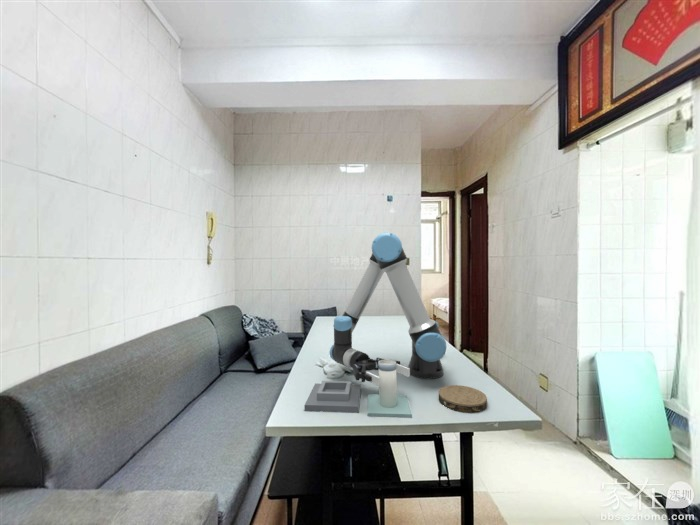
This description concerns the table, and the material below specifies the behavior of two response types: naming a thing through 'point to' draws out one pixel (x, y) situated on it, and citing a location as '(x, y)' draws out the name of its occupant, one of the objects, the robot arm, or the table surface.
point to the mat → (397, 411)
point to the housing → (334, 397)
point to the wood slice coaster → (463, 399)
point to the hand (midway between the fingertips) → (394, 377)
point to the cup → (387, 383)
